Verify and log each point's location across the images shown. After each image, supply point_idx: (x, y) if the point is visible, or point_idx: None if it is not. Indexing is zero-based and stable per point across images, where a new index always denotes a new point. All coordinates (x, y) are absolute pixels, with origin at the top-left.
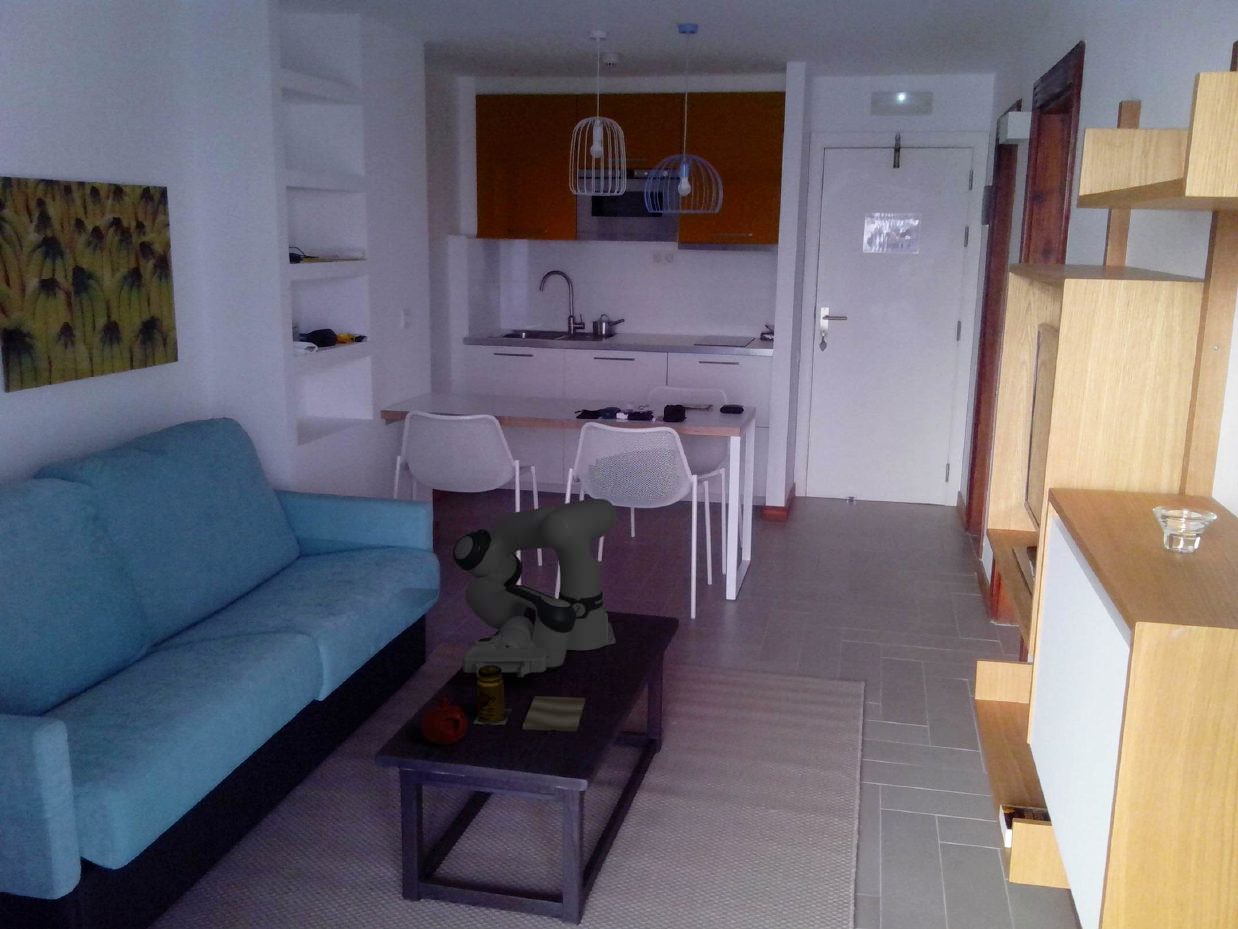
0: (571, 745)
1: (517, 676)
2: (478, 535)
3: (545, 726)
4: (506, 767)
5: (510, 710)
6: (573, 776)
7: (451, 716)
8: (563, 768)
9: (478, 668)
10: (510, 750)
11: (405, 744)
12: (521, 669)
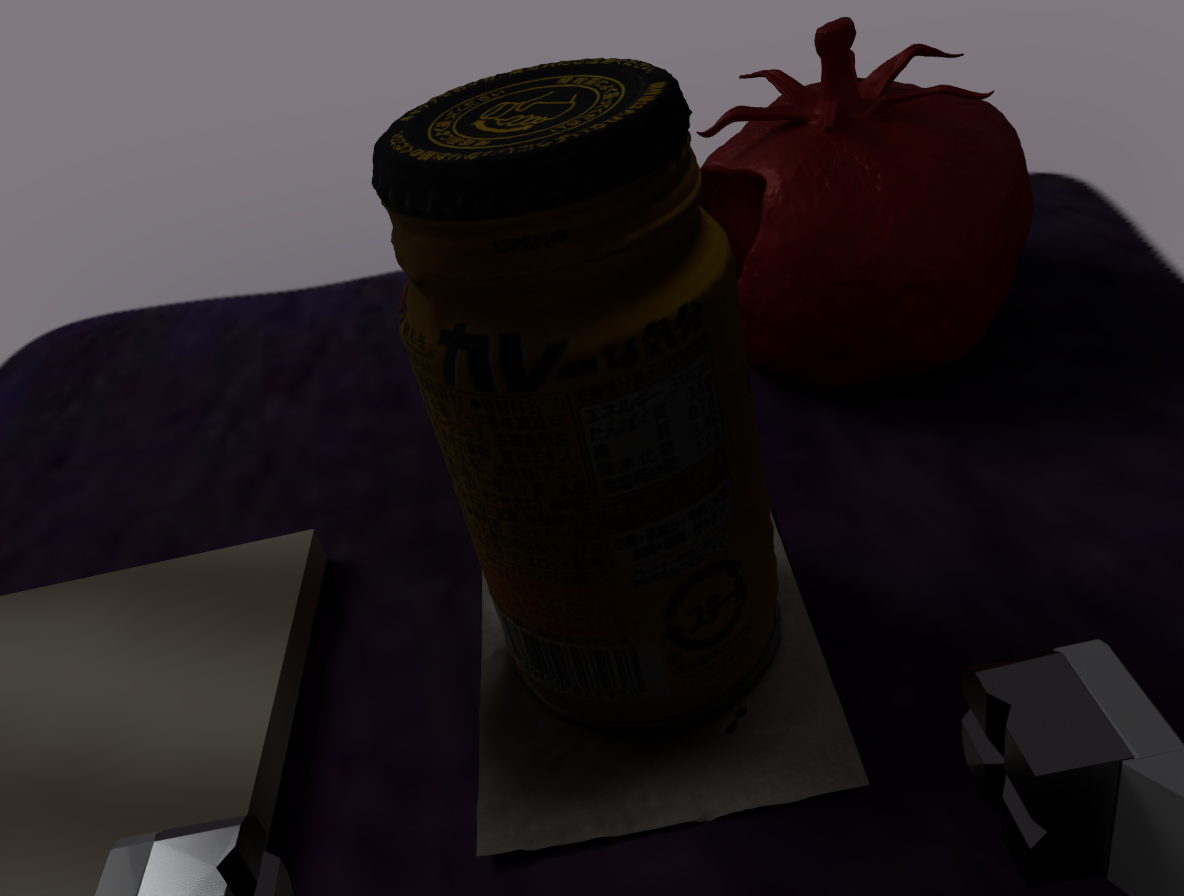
0: (7, 498)
1: (281, 887)
2: None
3: (129, 572)
4: (388, 276)
5: (483, 803)
6: (80, 321)
7: (747, 123)
8: (112, 344)
9: (1148, 714)
10: (387, 364)
11: (1060, 228)
12: (137, 868)
